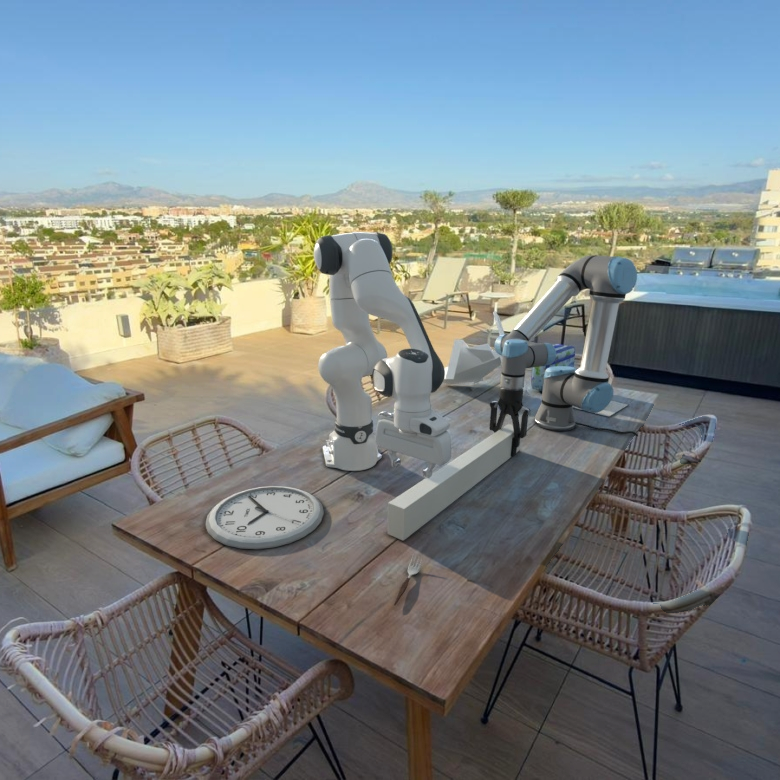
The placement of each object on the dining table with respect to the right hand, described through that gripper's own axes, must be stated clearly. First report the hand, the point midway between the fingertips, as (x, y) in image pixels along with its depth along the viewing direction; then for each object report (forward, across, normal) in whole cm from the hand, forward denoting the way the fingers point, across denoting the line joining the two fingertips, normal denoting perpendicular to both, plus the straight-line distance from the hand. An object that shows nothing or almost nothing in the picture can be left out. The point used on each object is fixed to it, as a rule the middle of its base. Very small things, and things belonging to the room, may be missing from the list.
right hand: (505, 452), depth 177 cm
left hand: (-15, 0, -58) cm, 59 cm away
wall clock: (+1, -32, -76) cm, 83 cm away
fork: (+1, +12, -76) cm, 77 cm away
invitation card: (+1, +11, +72) cm, 73 cm away
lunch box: (+1, -16, +85) cm, 86 cm away
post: (+1, 0, -29) cm, 29 cm away
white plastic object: (+1, -40, +57) cm, 69 cm away
